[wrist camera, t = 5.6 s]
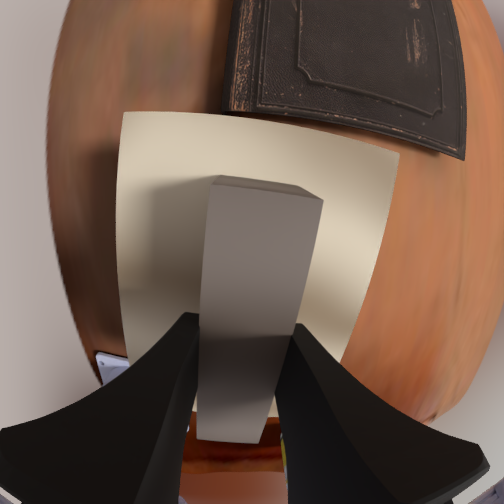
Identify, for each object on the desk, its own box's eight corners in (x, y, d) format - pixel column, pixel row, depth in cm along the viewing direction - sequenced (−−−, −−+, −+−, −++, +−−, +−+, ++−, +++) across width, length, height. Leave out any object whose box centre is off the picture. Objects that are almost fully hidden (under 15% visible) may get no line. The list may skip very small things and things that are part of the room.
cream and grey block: (309, 397, 15) (324, 457, 10) (143, 382, 14) (123, 442, 10) (381, 152, 10) (451, 158, 6) (138, 116, 9) (78, 99, 5)
